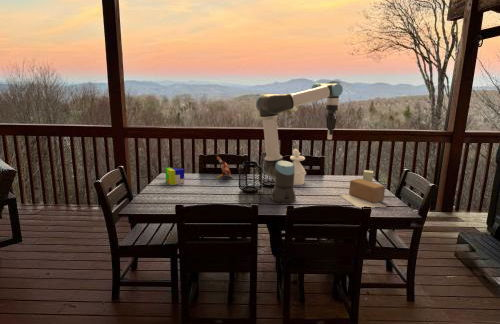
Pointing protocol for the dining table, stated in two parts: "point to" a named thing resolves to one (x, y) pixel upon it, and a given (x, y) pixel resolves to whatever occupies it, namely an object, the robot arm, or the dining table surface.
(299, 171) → the decorative object
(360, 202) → the mat
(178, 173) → the puzzle toy
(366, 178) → the sage block
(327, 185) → the dining table surface
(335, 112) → the robot arm
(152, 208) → the dining table surface
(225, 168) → the decorative bird
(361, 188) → the wooden block
